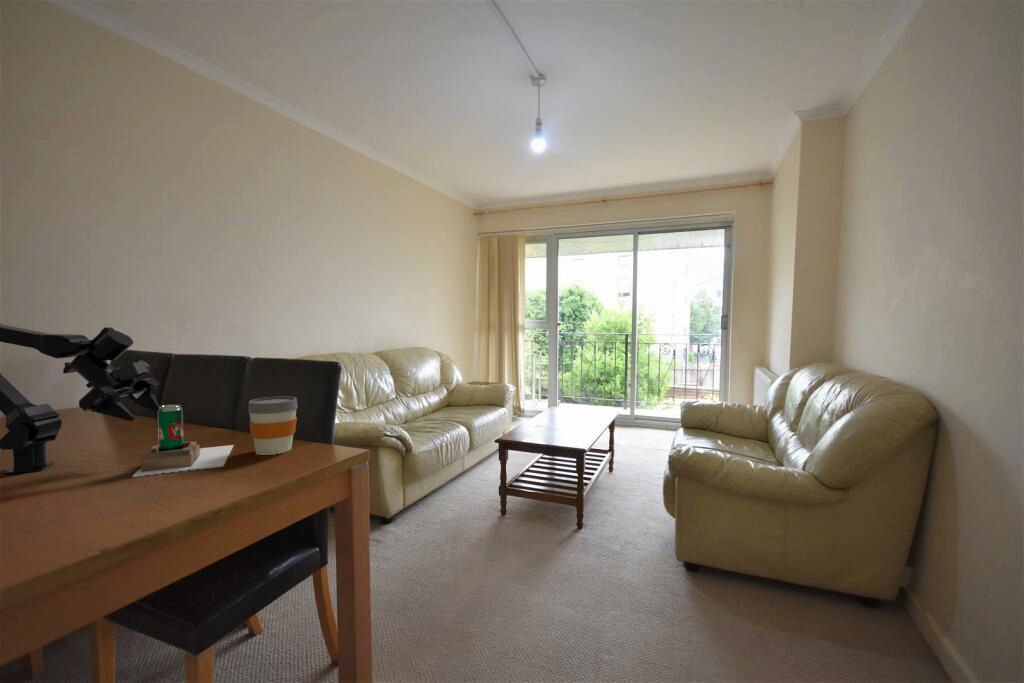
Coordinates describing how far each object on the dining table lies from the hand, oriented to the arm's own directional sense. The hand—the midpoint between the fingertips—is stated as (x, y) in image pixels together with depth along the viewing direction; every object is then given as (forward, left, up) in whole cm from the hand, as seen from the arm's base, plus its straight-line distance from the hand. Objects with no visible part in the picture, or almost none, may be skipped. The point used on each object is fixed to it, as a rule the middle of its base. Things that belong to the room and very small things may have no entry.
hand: (147, 416), depth 109 cm
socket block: (+2, +5, -13) cm, 14 cm away
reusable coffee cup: (-1, +28, -13) cm, 31 cm away
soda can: (+2, +5, -10) cm, 11 cm away
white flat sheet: (-1, +8, -13) cm, 15 cm away
